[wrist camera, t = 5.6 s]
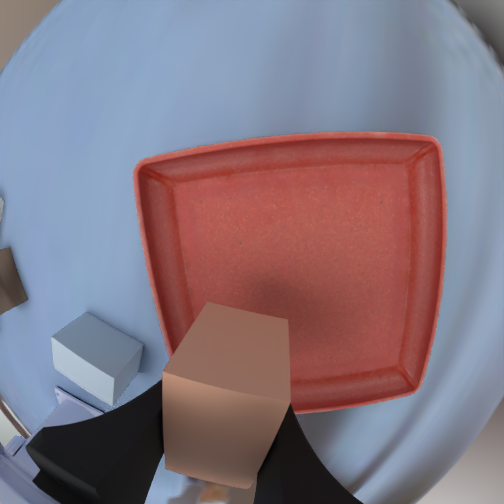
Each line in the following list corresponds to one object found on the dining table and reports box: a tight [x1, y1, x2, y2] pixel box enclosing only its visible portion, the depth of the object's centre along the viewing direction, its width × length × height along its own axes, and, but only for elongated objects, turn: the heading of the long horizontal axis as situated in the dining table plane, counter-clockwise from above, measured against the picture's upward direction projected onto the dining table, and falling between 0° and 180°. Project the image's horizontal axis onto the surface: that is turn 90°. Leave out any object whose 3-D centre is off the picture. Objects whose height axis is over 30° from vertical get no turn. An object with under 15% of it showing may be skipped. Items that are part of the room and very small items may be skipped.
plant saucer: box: [133, 132, 447, 414], centre depth 16 cm, size 18×18×3 cm
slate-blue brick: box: [51, 312, 144, 407], centre depth 18 cm, size 6×4×5 cm, turn 69°
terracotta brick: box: [162, 302, 291, 489], centre depth 10 cm, size 6×4×5 cm, turn 169°
